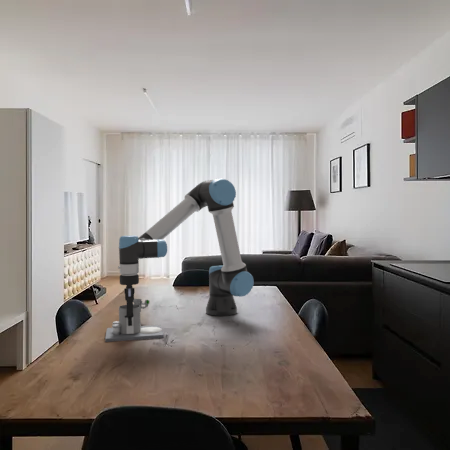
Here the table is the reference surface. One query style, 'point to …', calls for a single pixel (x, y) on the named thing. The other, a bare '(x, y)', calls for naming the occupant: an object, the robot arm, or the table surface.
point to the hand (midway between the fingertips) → (130, 330)
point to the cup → (135, 318)
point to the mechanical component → (139, 302)
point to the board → (145, 333)
